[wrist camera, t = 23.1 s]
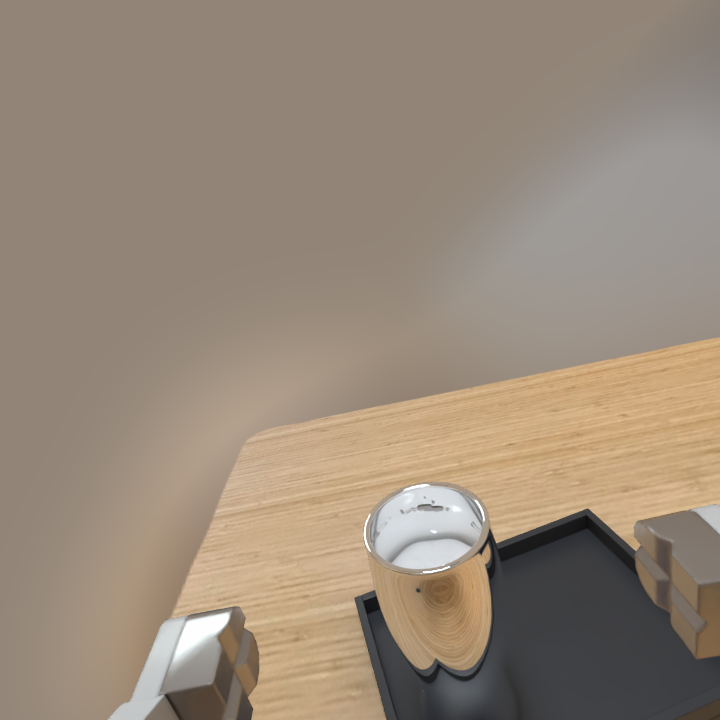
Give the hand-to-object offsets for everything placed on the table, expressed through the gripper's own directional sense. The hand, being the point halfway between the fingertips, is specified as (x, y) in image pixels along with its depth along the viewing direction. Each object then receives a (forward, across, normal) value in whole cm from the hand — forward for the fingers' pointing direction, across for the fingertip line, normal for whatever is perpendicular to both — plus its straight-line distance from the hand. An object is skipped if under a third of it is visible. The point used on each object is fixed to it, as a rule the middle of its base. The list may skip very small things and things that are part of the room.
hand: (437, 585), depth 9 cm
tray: (+15, -5, +24) cm, 29 cm away
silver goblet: (+12, 0, +24) cm, 27 cm away
